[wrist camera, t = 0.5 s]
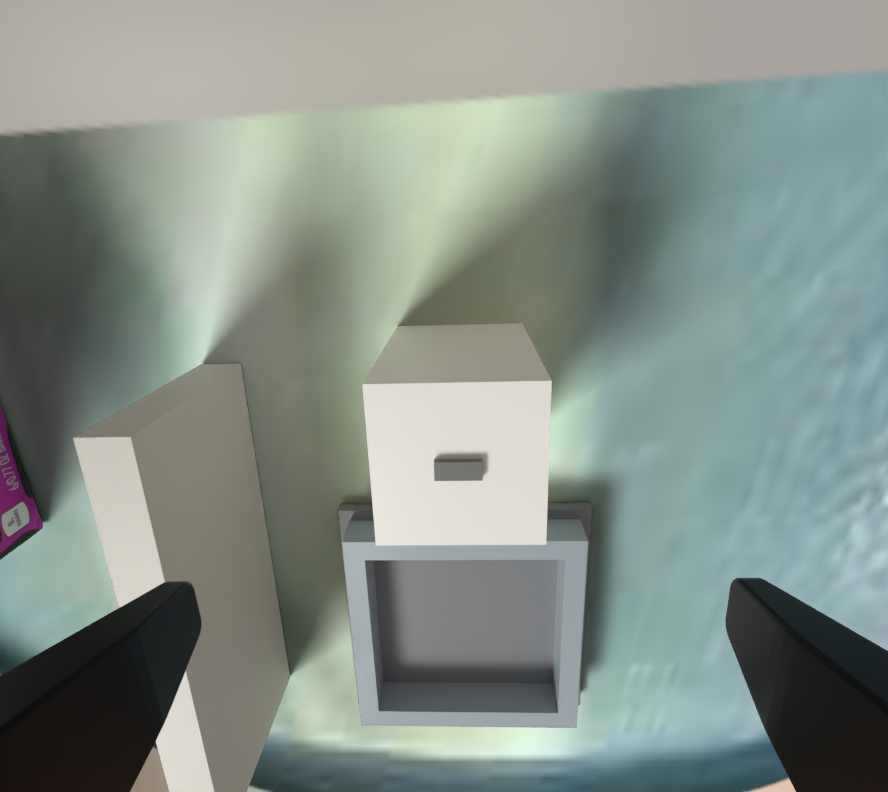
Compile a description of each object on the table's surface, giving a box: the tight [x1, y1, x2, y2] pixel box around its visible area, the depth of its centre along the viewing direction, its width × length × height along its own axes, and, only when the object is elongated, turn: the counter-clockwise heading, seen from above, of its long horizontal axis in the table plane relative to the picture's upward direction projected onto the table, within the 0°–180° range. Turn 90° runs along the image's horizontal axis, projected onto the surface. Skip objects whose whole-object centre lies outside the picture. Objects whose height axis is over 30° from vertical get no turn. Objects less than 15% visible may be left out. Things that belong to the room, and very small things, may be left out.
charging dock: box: [338, 502, 592, 728], centre depth 22 cm, size 10×10×2 cm
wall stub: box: [73, 363, 290, 792], centre depth 19 cm, size 2×15×7 cm, turn 2°
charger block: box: [362, 323, 552, 546], centre depth 17 cm, size 4×4×7 cm
